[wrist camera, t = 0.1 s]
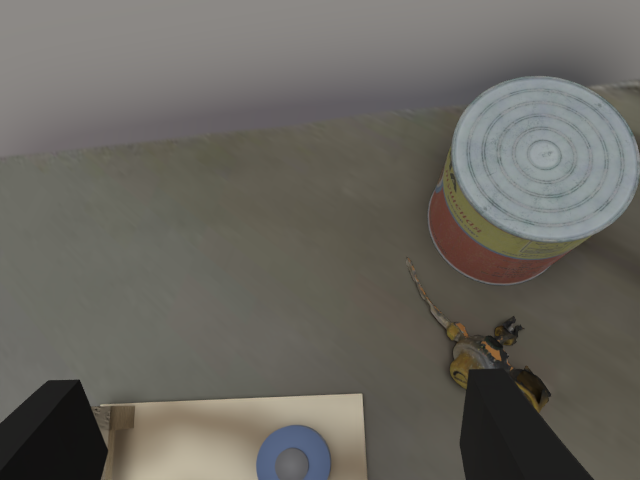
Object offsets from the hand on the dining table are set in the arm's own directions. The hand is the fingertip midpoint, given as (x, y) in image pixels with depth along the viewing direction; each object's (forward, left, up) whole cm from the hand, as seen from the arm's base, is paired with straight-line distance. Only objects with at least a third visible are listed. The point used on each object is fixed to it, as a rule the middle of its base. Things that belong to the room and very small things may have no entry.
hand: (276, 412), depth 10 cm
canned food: (+14, -14, -32) cm, 38 cm away
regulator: (+5, -10, -32) cm, 34 cm away
